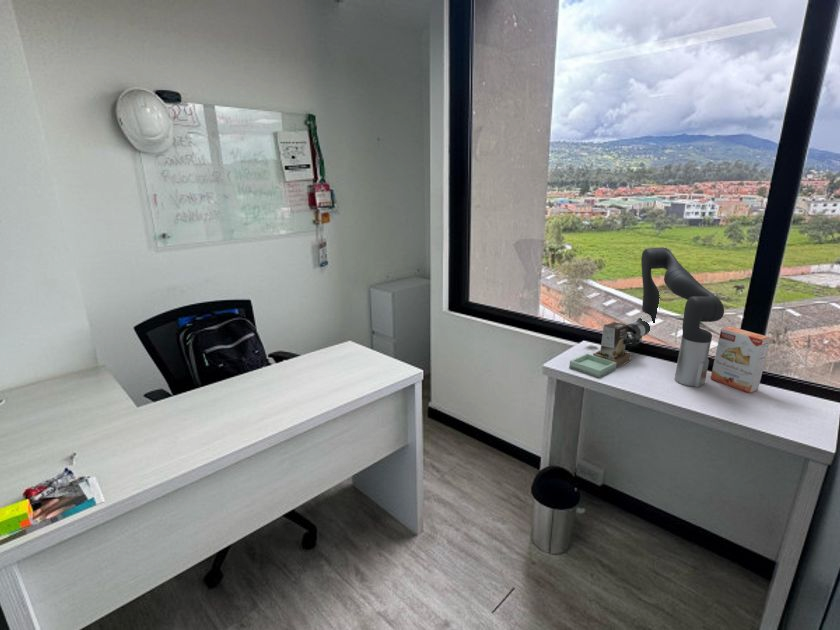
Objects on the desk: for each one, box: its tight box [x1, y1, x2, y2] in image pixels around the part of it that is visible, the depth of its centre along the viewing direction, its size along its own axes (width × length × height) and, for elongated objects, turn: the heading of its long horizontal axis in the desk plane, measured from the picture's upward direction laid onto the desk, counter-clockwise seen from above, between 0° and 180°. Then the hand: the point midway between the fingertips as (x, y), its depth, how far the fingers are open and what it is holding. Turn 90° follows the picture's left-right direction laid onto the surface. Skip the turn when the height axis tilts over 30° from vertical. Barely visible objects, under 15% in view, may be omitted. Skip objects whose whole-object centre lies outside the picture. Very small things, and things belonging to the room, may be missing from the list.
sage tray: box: [568, 353, 617, 379], centre depth 179 cm, size 13×13×3 cm
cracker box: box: [710, 326, 772, 394], centre depth 162 cm, size 14×6×21 cm, turn 28°
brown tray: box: [592, 350, 632, 369], centre depth 187 cm, size 10×13×4 cm
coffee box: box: [599, 321, 628, 359], centre depth 185 cm, size 9×6×16 cm
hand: (614, 339), depth 185 cm, fingers open, 8 cm apart
